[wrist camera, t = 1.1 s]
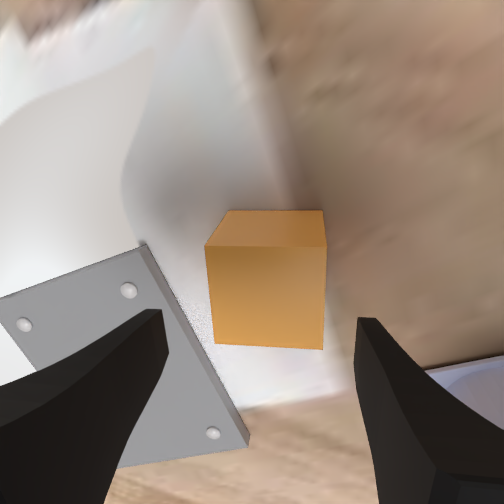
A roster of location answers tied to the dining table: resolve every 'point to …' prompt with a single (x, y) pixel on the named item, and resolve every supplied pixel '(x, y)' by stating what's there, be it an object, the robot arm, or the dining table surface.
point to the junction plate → (108, 318)
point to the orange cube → (268, 278)
